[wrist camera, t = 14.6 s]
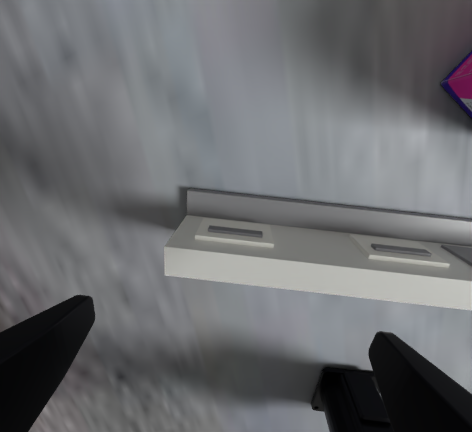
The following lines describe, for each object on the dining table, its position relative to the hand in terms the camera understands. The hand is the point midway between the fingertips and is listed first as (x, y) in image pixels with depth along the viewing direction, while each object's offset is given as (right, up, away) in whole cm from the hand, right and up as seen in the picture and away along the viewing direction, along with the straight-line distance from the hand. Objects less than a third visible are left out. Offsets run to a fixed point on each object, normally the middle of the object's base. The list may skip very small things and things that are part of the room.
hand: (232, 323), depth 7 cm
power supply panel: (+11, +1, +12) cm, 16 cm away
